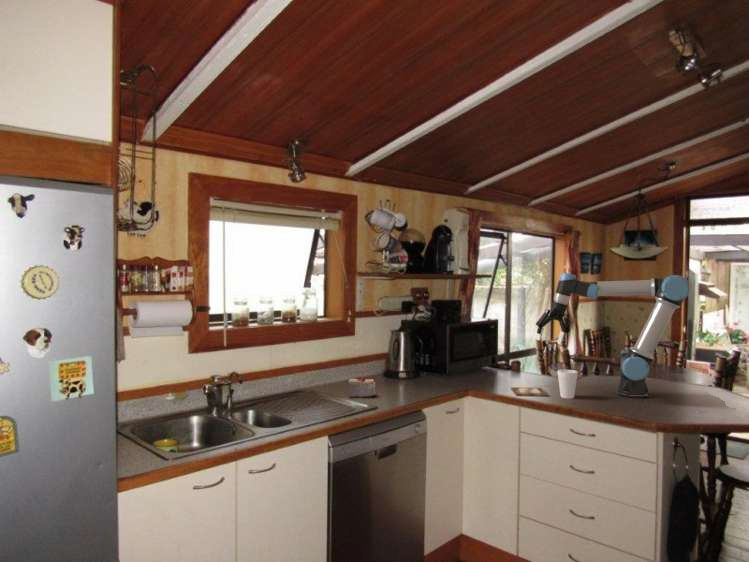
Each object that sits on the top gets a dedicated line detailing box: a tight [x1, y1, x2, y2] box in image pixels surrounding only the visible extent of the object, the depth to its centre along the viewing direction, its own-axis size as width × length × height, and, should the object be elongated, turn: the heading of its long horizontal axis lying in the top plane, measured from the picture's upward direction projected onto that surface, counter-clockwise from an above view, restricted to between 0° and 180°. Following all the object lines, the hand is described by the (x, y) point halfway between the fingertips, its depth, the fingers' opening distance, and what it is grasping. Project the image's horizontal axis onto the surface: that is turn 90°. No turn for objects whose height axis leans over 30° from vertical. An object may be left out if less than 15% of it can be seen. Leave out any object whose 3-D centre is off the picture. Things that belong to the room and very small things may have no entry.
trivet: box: [510, 386, 550, 398], centre depth 279 cm, size 16×16×1 cm
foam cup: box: [557, 369, 579, 400], centre depth 270 cm, size 10×9×13 cm
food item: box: [347, 376, 376, 399], centre depth 270 cm, size 14×8×10 cm, turn 95°
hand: (548, 342), depth 278 cm, fingers open, 13 cm apart
